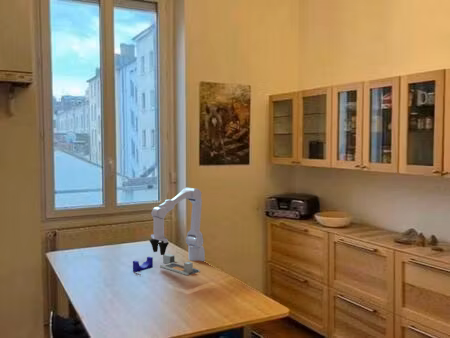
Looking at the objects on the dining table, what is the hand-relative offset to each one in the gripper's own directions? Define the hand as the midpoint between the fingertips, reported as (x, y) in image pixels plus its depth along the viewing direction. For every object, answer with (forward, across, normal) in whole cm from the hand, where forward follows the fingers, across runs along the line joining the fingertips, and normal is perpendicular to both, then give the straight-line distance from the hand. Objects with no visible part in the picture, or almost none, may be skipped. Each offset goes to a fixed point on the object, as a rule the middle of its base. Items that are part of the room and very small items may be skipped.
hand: (159, 253), depth 256 cm
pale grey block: (+10, -9, +12) cm, 18 cm away
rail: (+10, +9, +7) cm, 15 cm away
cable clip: (+10, -8, -6) cm, 14 cm away
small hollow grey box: (+8, +16, +8) cm, 20 cm away
